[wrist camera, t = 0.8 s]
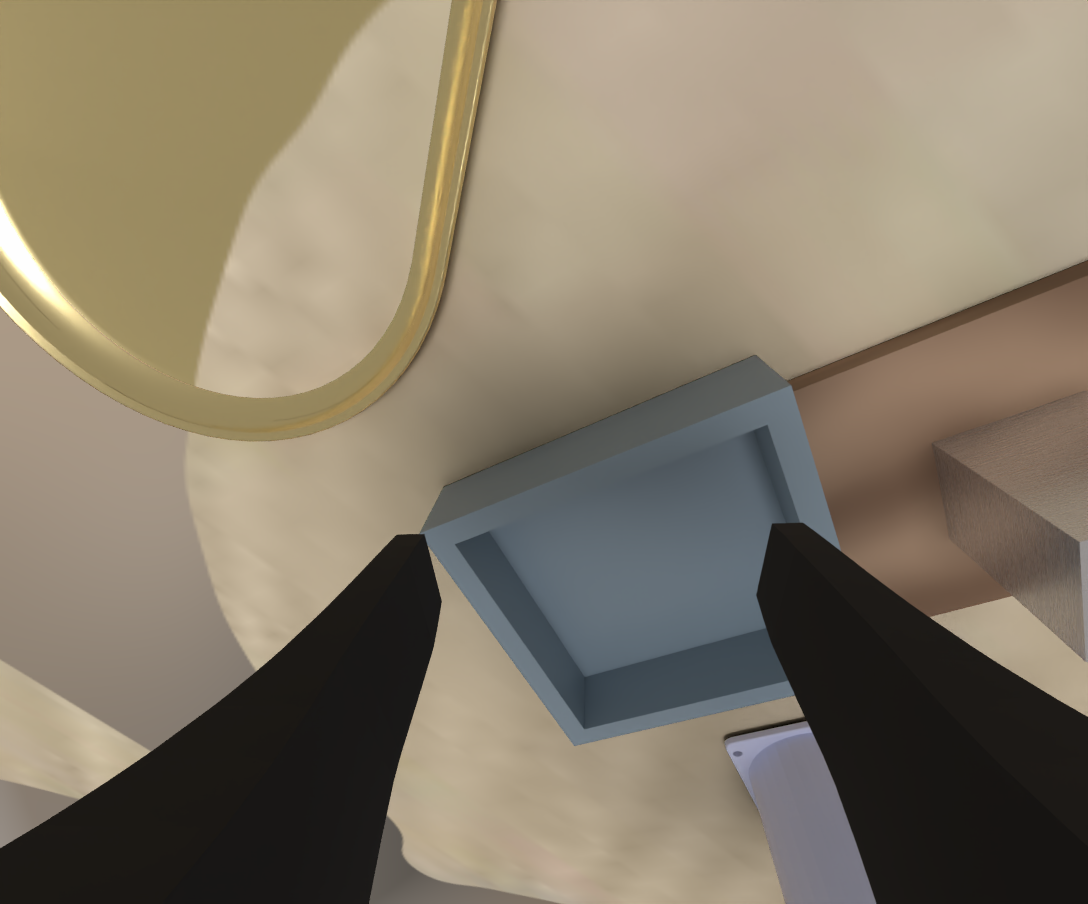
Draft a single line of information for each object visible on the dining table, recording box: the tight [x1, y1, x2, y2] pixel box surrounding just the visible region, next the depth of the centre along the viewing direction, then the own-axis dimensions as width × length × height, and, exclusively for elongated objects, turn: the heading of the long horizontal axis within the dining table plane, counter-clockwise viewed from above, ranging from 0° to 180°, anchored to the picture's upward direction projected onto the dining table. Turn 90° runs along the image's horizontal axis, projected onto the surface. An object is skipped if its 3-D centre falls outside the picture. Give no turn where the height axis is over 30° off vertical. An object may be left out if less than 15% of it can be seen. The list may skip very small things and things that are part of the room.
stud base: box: [787, 261, 1088, 617], centre depth 17 cm, size 13×13×4 cm
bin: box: [419, 355, 841, 746], centre depth 21 cm, size 14×14×4 cm
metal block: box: [932, 391, 1088, 662], centre depth 15 cm, size 5×5×6 cm
